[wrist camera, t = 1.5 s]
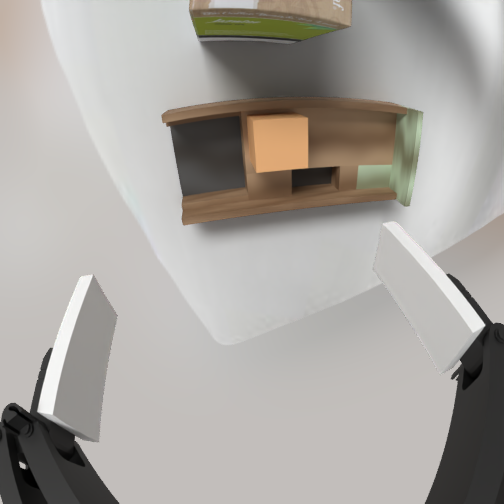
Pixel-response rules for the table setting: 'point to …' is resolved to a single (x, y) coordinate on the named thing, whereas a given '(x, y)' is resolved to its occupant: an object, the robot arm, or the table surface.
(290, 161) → the block
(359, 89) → the table surface
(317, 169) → the track
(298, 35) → the tea box
